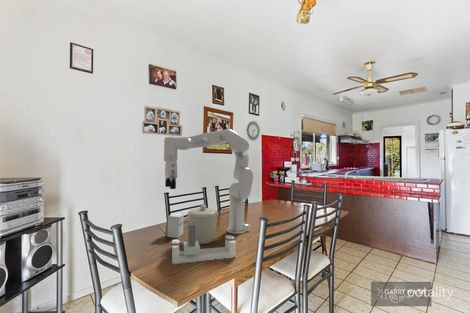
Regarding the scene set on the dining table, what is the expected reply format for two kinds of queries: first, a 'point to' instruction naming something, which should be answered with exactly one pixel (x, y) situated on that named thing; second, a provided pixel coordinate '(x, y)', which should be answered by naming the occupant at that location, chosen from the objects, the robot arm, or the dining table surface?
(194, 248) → the carriage
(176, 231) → the supplement box
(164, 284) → the dining table surface
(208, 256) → the rail track
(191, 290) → the dining table surface
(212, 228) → the canister
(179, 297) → the dining table surface
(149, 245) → the dining table surface
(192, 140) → the robot arm
